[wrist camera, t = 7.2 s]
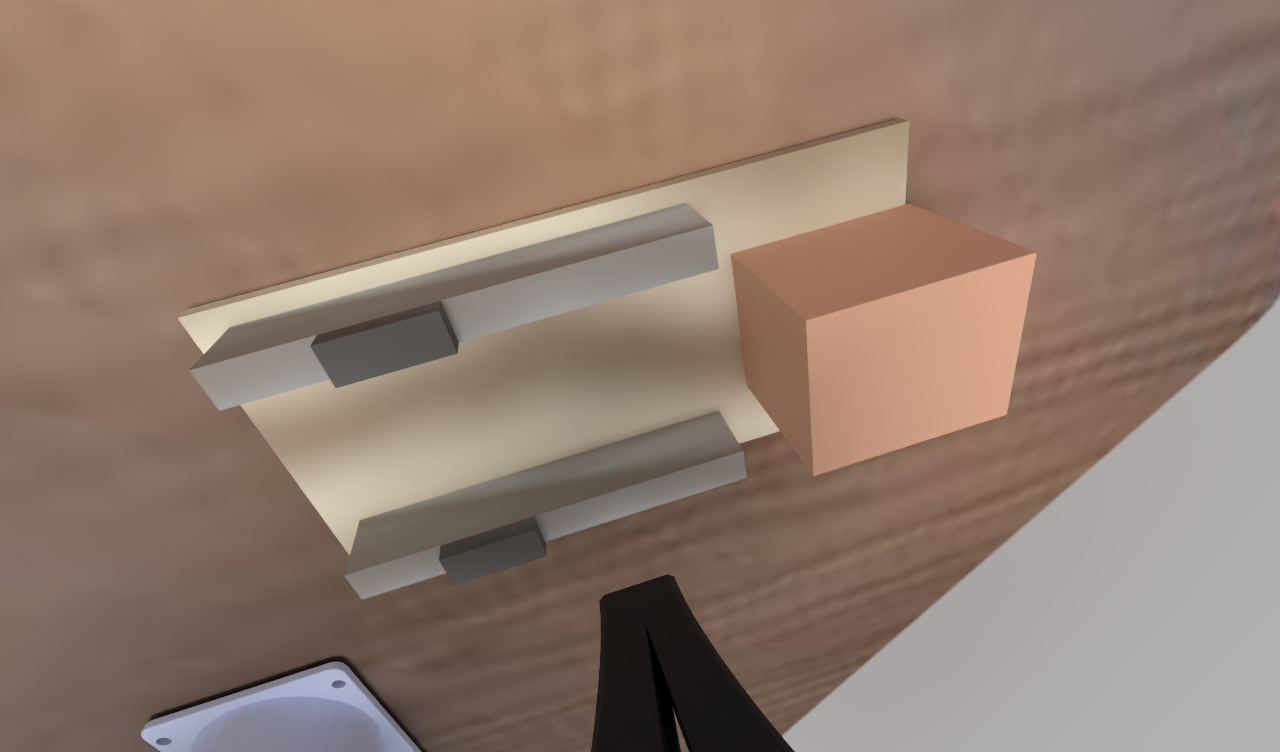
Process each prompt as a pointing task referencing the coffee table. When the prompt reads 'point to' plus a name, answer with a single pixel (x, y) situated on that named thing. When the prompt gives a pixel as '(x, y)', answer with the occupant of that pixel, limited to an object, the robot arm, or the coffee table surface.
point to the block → (880, 331)
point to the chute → (529, 363)
